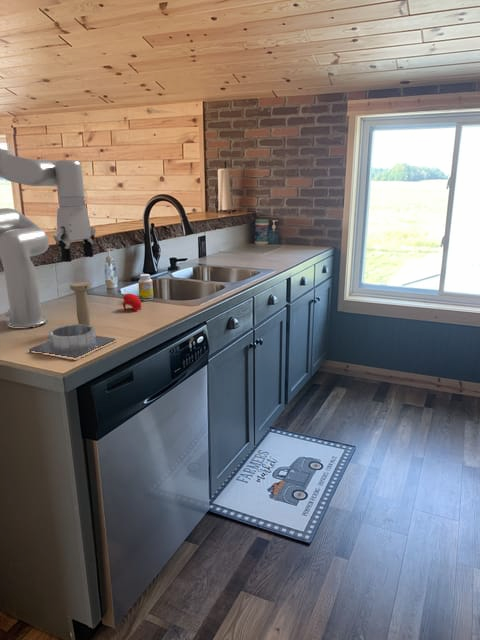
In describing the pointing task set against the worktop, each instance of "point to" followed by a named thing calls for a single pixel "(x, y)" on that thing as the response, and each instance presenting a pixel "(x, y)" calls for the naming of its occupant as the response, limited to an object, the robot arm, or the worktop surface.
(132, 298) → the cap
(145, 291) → the supplement bottle
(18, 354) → the worktop surface
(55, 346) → the duct collar
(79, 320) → the handle
